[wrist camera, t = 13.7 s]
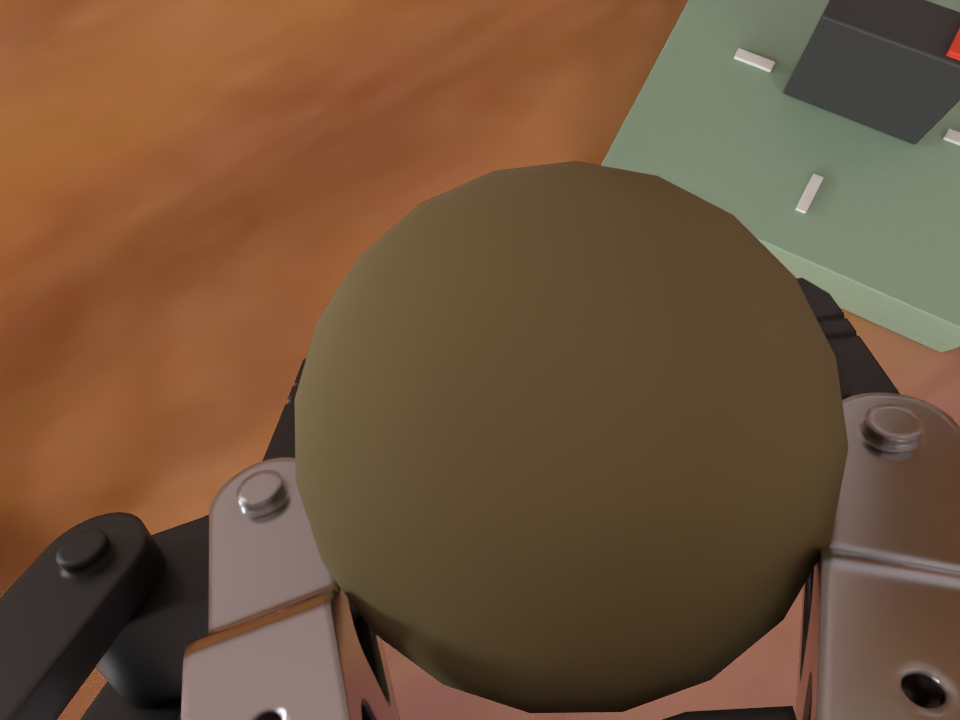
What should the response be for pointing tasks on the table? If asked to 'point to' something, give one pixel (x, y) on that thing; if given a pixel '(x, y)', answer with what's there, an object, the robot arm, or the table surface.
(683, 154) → the control panel
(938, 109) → the black block red tip
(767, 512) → the olive round-headed cylinder
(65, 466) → the table surface
